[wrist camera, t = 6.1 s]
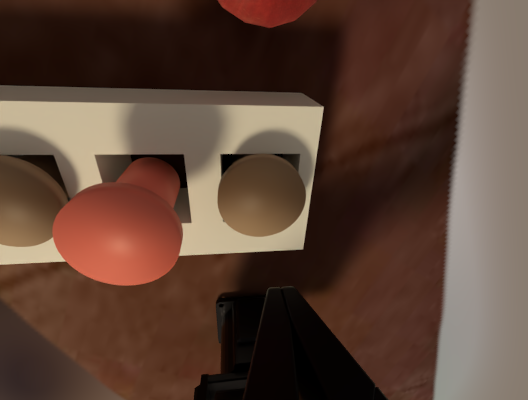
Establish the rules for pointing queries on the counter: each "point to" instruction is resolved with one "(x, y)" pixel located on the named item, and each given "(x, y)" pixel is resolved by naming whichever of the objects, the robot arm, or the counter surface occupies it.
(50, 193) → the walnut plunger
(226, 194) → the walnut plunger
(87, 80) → the counter surface
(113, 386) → the counter surface
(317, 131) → the jig
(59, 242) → the red plunger
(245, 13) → the onion
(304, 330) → the robot arm
